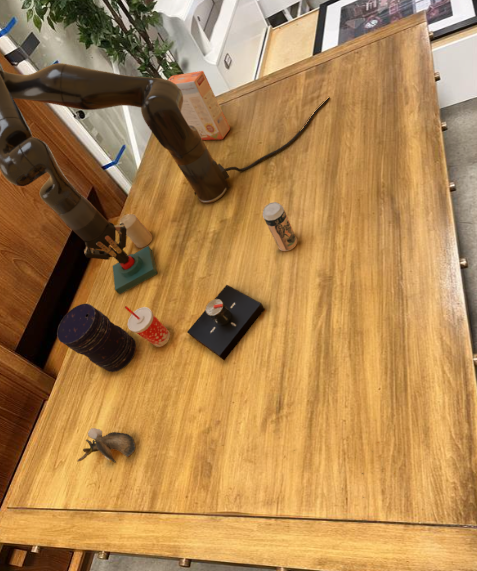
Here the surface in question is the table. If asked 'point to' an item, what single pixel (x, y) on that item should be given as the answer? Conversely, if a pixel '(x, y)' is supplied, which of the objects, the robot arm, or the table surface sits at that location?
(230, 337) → the control panel
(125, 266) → the button
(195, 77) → the cracker box
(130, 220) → the candle
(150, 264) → the button block
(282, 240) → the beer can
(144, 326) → the beverage cup
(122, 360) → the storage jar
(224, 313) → the dial
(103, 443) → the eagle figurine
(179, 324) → the table surface
